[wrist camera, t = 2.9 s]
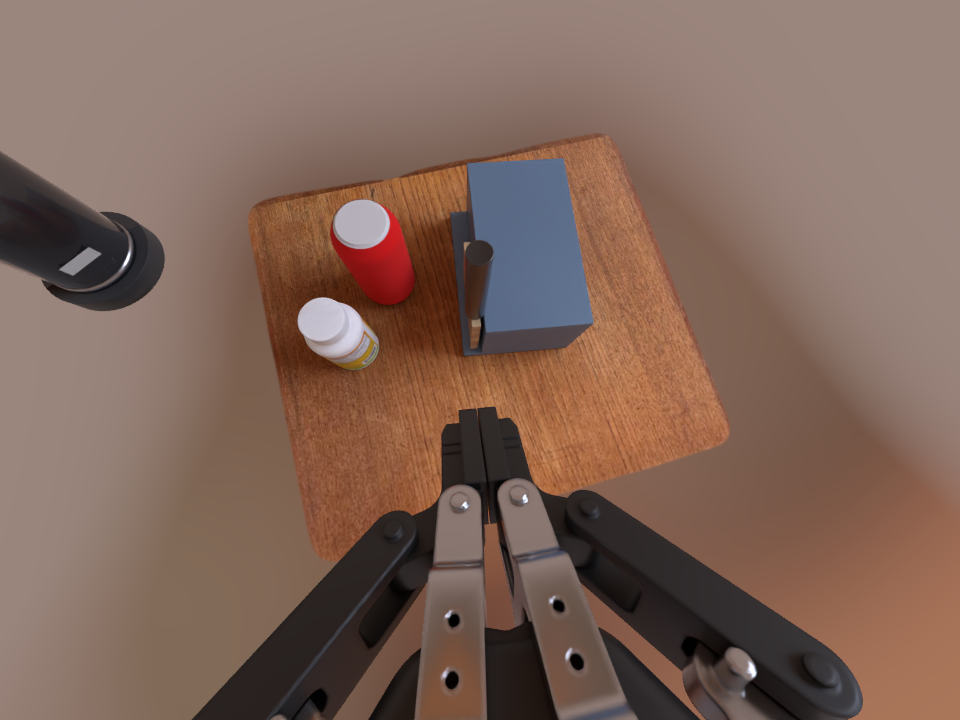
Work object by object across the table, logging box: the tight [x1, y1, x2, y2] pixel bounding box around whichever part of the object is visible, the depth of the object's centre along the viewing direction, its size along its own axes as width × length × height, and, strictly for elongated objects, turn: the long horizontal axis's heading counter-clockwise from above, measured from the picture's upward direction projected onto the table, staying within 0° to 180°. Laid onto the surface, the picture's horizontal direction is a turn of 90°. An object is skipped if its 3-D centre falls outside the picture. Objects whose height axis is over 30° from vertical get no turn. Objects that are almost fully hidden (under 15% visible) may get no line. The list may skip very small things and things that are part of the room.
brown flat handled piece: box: [464, 240, 494, 349], centre depth 30 cm, size 2×8×18 cm, turn 6°
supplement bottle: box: [298, 298, 379, 370], centre depth 34 cm, size 5×5×10 cm
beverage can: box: [330, 199, 415, 305], centre depth 35 cm, size 6×6×12 cm
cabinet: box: [450, 158, 593, 356], centre depth 37 cm, size 12×18×9 cm, turn 6°
